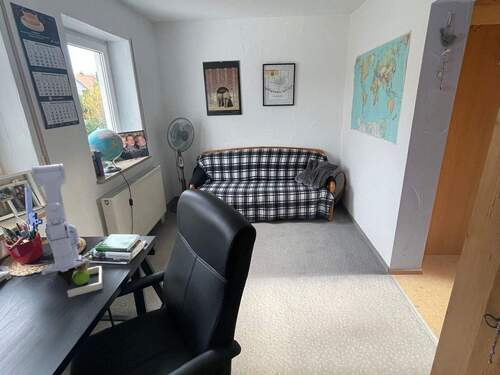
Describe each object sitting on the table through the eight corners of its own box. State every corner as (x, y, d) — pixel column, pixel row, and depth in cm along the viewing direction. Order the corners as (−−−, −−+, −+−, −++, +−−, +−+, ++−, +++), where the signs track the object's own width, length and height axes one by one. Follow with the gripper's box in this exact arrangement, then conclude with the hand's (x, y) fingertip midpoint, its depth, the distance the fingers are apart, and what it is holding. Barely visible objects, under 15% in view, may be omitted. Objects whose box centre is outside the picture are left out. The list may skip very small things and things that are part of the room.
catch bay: (72, 277, 108) (70, 272, 107) (102, 270, 112) (101, 265, 112) (68, 297, 97) (67, 291, 96) (102, 288, 102) (101, 282, 101)
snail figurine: (84, 289, 101) (82, 261, 98) (69, 285, 102) (67, 257, 99) (95, 281, 106) (93, 254, 103) (81, 278, 107) (79, 251, 104)
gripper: (36, 264, 91) (45, 297, 96) (85, 254, 98) (91, 285, 102) (40, 254, 97) (48, 285, 101) (86, 245, 104) (92, 274, 108)
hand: (70, 284), depth 102 cm, fingers closed
